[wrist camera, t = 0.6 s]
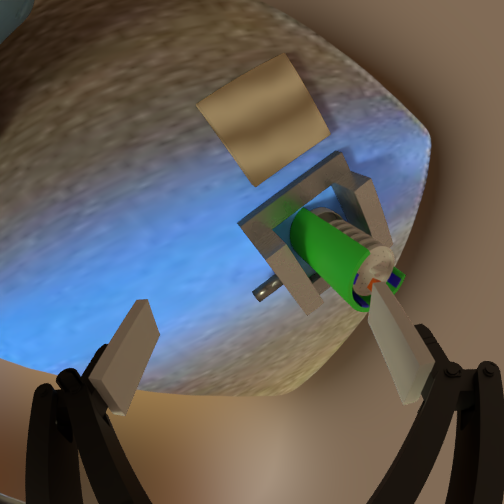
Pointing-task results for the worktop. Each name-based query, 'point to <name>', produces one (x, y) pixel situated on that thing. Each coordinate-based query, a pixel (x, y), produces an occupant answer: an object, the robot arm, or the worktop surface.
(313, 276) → the vise
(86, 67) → the worktop surface
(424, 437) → the robot arm
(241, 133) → the board
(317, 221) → the green-shelled ribbed roller
